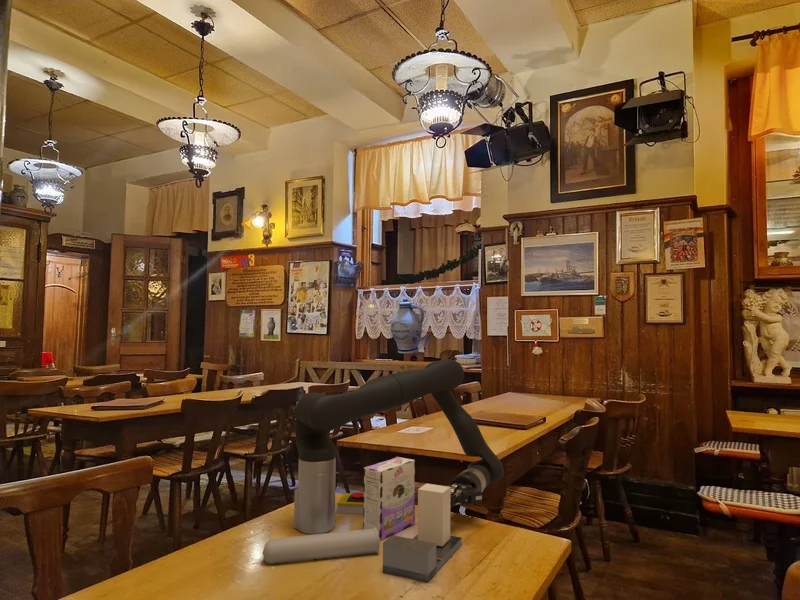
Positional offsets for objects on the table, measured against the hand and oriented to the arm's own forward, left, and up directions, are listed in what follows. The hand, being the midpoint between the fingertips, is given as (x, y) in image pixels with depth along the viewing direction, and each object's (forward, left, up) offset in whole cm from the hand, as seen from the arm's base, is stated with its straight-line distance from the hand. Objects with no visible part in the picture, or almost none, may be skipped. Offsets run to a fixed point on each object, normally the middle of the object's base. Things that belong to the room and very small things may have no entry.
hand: (446, 503), depth 132 cm
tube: (-20, -24, -8) cm, 32 cm away
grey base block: (0, -14, -7) cm, 16 cm away
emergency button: (-28, +7, -8) cm, 30 cm away
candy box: (-14, -3, -8) cm, 16 cm away
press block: (0, -9, -6) cm, 10 cm away
